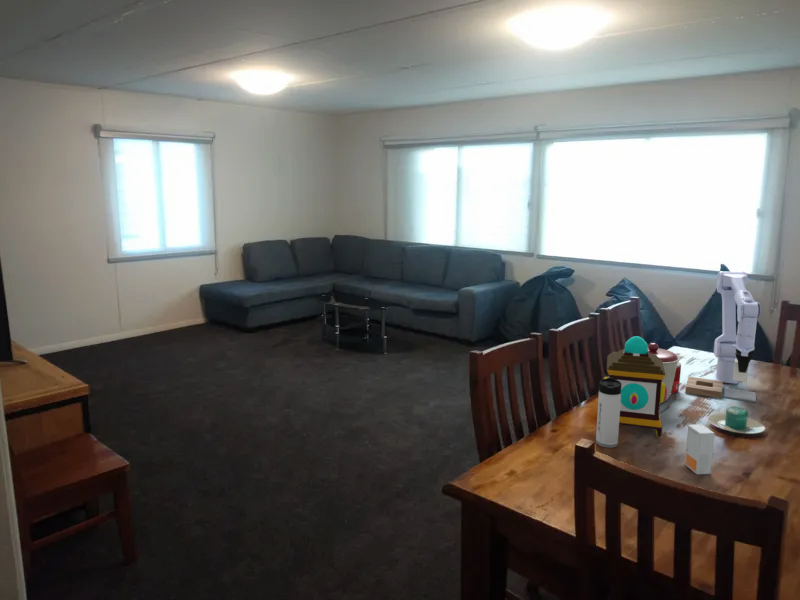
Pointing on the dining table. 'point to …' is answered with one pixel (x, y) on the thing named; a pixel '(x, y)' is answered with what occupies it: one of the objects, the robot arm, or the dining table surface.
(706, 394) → the pocket board
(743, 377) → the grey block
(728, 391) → the coaster
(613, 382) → the travel mug
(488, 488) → the dining table surface
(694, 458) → the skincare box
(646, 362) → the decorative lantern
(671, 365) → the canister
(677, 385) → the canned food
